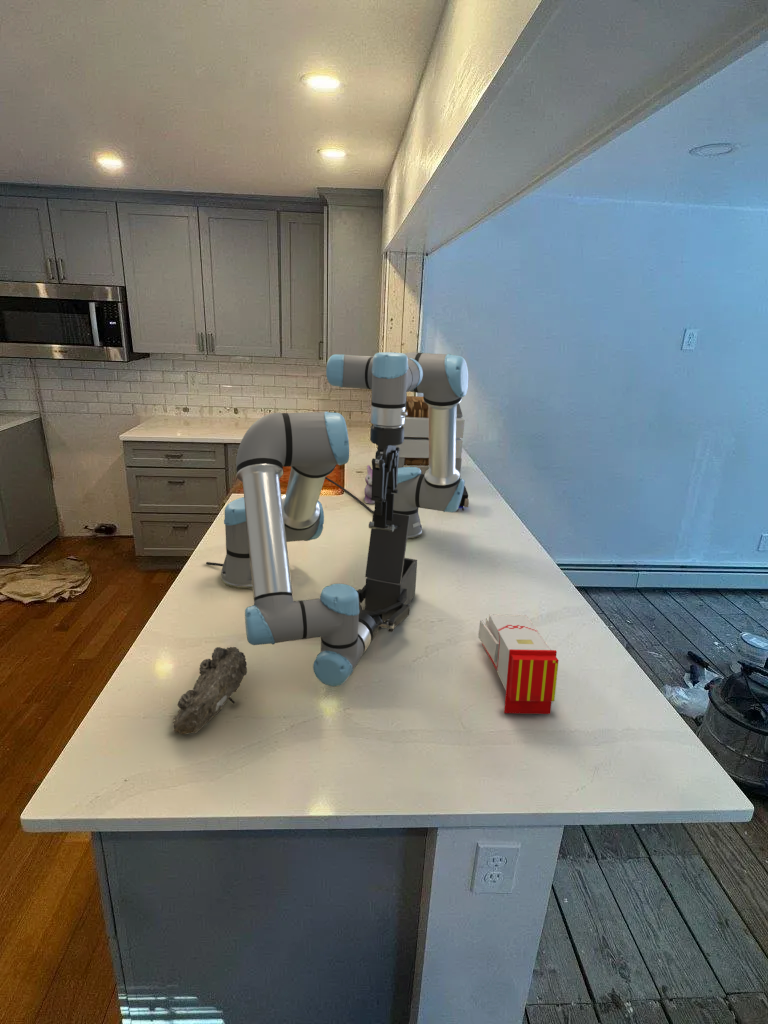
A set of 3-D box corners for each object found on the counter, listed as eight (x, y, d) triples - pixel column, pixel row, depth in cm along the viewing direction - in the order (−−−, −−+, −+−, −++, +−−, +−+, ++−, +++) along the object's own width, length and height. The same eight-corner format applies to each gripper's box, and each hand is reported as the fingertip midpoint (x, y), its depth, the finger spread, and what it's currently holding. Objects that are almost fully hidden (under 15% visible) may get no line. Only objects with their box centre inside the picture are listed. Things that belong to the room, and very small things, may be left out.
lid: (374, 510, 141) (363, 511, 133) (410, 515, 138) (400, 517, 130) (366, 576, 142) (354, 581, 134) (401, 582, 140) (391, 589, 131)
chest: (383, 588, 160) (385, 554, 156) (415, 594, 158) (417, 559, 154) (364, 616, 146) (365, 579, 142) (398, 623, 143) (400, 585, 139)
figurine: (368, 505, 226) (369, 469, 221) (357, 498, 235) (358, 463, 230) (389, 503, 230) (391, 467, 225) (378, 495, 239) (379, 461, 234)
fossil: (197, 648, 121) (247, 617, 116) (228, 678, 124) (278, 648, 119) (149, 728, 102) (207, 694, 97) (187, 761, 105) (245, 730, 100)
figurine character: (468, 516, 224) (463, 500, 237) (471, 498, 221) (465, 483, 234) (452, 515, 224) (447, 499, 237) (453, 498, 220) (449, 482, 234)
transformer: (382, 463, 289) (386, 382, 275) (445, 464, 293) (451, 384, 279) (390, 482, 257) (394, 392, 243) (460, 483, 261) (468, 394, 247)
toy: (524, 600, 137) (567, 656, 108) (520, 651, 140) (560, 720, 111) (474, 599, 137) (504, 655, 107) (471, 650, 140) (498, 719, 110)
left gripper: (310, 638, 130) (347, 595, 150) (402, 659, 123) (427, 611, 144) (310, 609, 127) (347, 569, 147) (404, 629, 121) (429, 584, 141)
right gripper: (391, 434, 116) (387, 539, 125) (414, 419, 132) (408, 513, 140) (357, 431, 118) (355, 534, 127) (383, 416, 134) (380, 509, 142)
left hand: (386, 590), depth 145 cm, fingers closed on chest, 9 cm apart
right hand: (383, 522), depth 133 cm, fingers open, 5 cm apart
